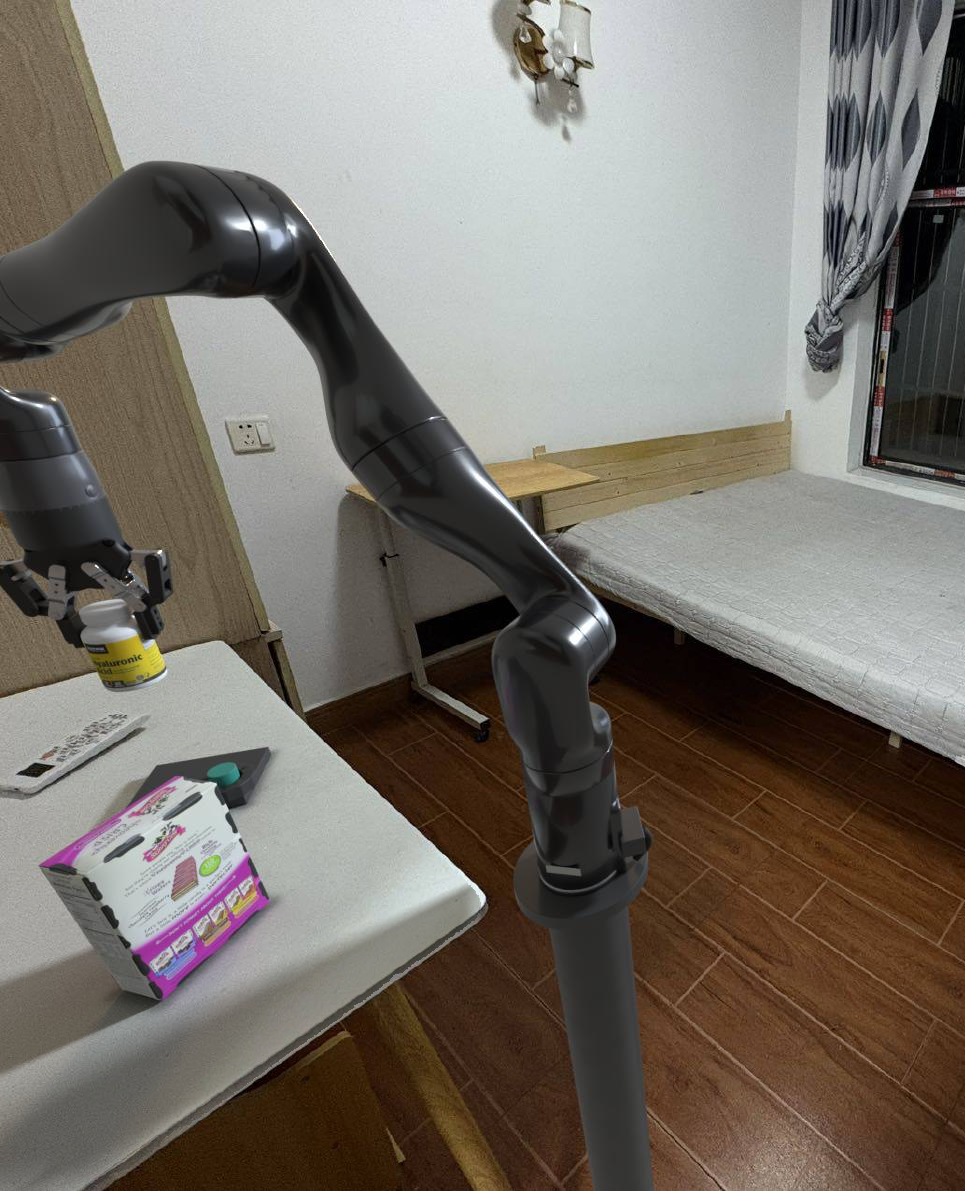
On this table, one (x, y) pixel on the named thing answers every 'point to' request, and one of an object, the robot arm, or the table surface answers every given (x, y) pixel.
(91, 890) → the candy bar box
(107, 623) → the supplement bottle
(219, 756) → the scale
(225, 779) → the button
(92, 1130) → the table surface
